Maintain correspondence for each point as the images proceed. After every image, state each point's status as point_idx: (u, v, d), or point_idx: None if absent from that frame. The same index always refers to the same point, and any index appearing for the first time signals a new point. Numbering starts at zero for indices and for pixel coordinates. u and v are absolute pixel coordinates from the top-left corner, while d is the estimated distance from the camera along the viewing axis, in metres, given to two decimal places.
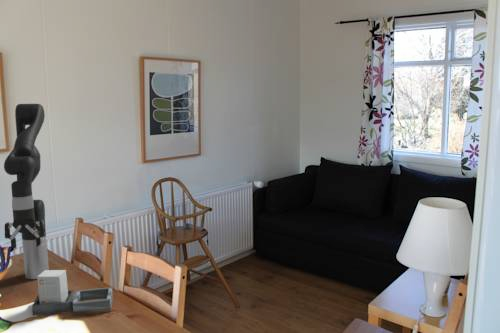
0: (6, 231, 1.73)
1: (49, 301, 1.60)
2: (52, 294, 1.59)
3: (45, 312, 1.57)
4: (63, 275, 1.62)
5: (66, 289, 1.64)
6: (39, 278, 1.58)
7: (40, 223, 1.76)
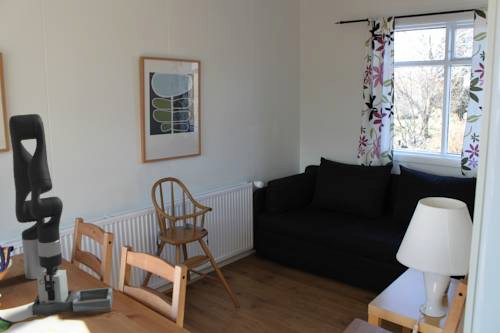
0: (52, 283, 1.56)
1: (49, 301, 1.60)
2: None
3: (45, 312, 1.57)
4: (63, 275, 1.62)
5: (66, 289, 1.64)
6: (39, 278, 1.58)
7: None
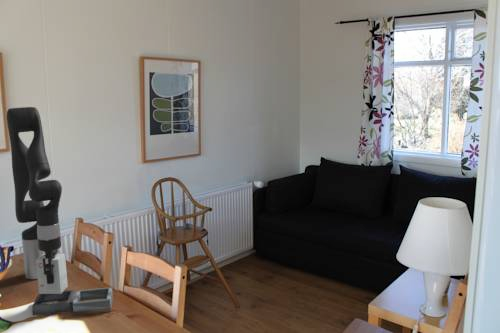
0: (51, 266, 1.55)
1: (48, 285, 1.59)
2: None
3: (45, 312, 1.57)
4: (62, 259, 1.61)
5: (65, 273, 1.64)
6: (38, 261, 1.58)
7: None
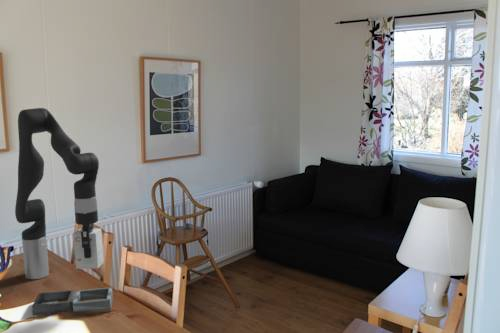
0: (89, 239, 1.53)
1: (85, 259, 1.57)
2: None
3: (45, 312, 1.57)
4: (99, 233, 1.59)
5: (102, 248, 1.62)
6: (75, 235, 1.56)
7: (93, 223, 1.65)
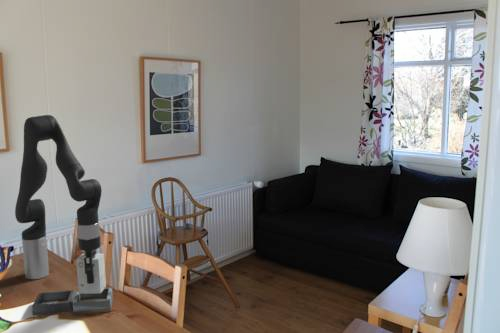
0: (92, 265, 1.55)
1: (87, 285, 1.59)
2: None
3: (45, 312, 1.57)
4: (101, 258, 1.61)
5: (104, 273, 1.64)
6: (78, 261, 1.58)
7: None
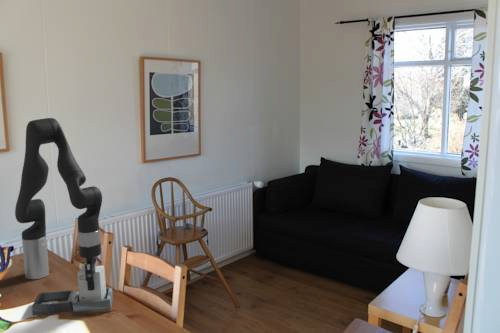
0: (92, 272, 1.55)
1: (89, 297, 1.60)
2: None
3: (45, 312, 1.57)
4: (102, 270, 1.62)
5: (105, 285, 1.65)
6: (79, 274, 1.59)
7: None
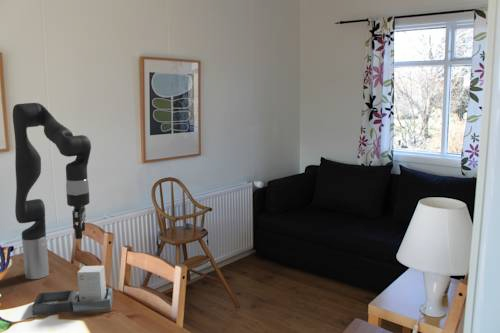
0: (80, 220, 1.55)
1: (89, 297, 1.60)
2: (92, 289, 1.60)
3: (45, 312, 1.57)
4: (102, 270, 1.62)
5: (105, 285, 1.65)
6: (79, 274, 1.59)
7: (84, 205, 1.66)
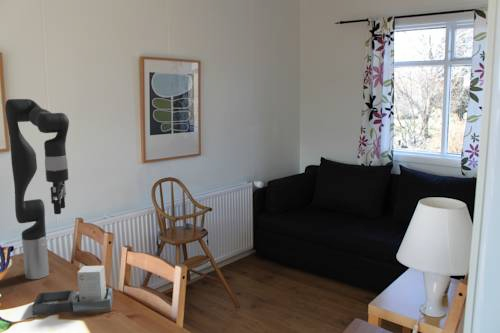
0: (58, 195, 1.58)
1: (89, 297, 1.60)
2: (92, 289, 1.60)
3: (45, 312, 1.57)
4: (102, 270, 1.62)
5: (105, 285, 1.65)
6: (79, 274, 1.59)
7: (64, 182, 1.70)
